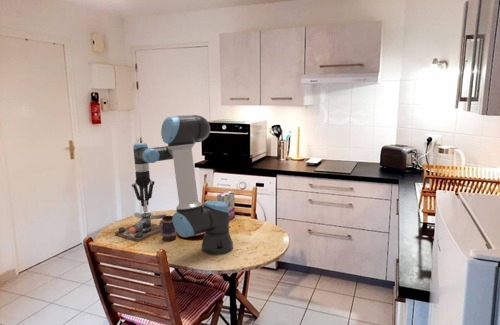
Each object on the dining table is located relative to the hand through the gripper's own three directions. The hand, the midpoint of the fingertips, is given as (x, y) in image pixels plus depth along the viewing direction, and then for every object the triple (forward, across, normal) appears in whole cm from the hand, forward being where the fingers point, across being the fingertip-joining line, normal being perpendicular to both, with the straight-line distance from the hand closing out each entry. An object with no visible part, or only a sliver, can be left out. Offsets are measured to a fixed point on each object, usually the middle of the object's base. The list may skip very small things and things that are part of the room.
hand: (145, 211), depth 200 cm
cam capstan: (+7, +3, +6) cm, 10 cm away
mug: (+10, 0, +26) cm, 28 cm away
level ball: (+7, +12, +11) cm, 18 cm away
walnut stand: (+9, +6, +7) cm, 13 cm away
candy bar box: (+10, -41, +21) cm, 47 cm away
